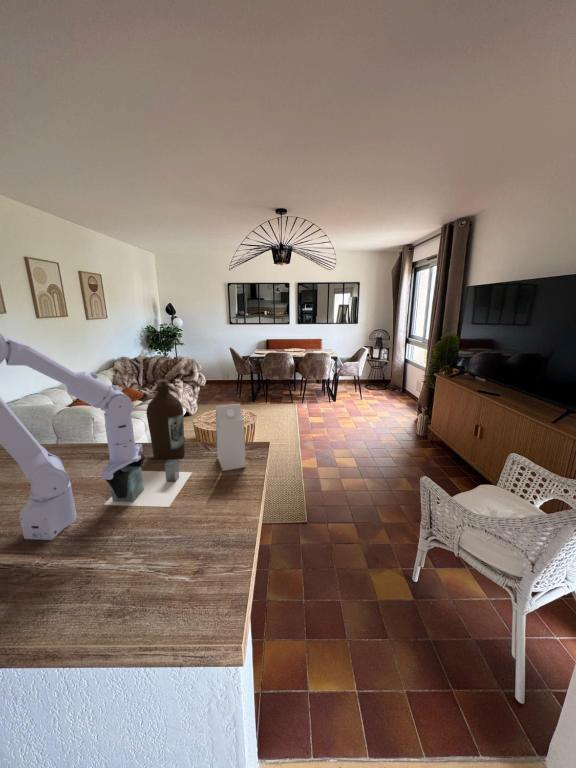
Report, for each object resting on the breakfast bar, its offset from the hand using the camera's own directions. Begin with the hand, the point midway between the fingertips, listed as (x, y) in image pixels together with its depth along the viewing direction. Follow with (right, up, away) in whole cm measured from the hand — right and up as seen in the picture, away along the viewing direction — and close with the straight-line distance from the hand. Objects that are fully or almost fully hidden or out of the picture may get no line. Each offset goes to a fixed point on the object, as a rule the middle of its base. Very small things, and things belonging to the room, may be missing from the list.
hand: (128, 490), depth 81 cm
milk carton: (+23, +2, +18) cm, 29 cm away
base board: (+4, -2, +4) cm, 6 cm away
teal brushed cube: (0, -1, 0) cm, 1 cm away
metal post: (+8, -1, +8) cm, 12 cm away
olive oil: (+2, +3, +23) cm, 24 cm away
